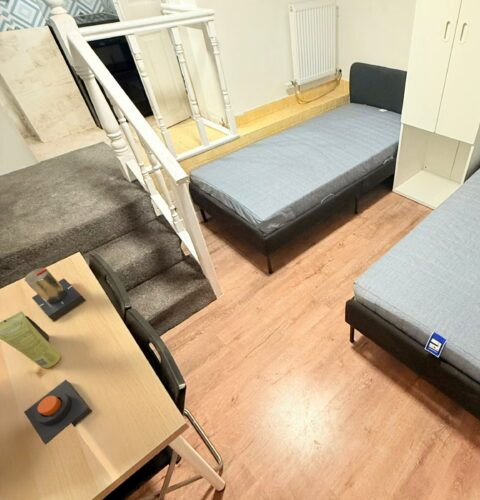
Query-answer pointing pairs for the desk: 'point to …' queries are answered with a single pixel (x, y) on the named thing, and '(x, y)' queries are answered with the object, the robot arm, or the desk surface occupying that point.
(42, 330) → the battery charger
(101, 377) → the desk surface
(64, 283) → the dial panel
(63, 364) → the desk surface
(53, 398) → the button
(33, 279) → the dial
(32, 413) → the dark grey base plate
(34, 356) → the tube
